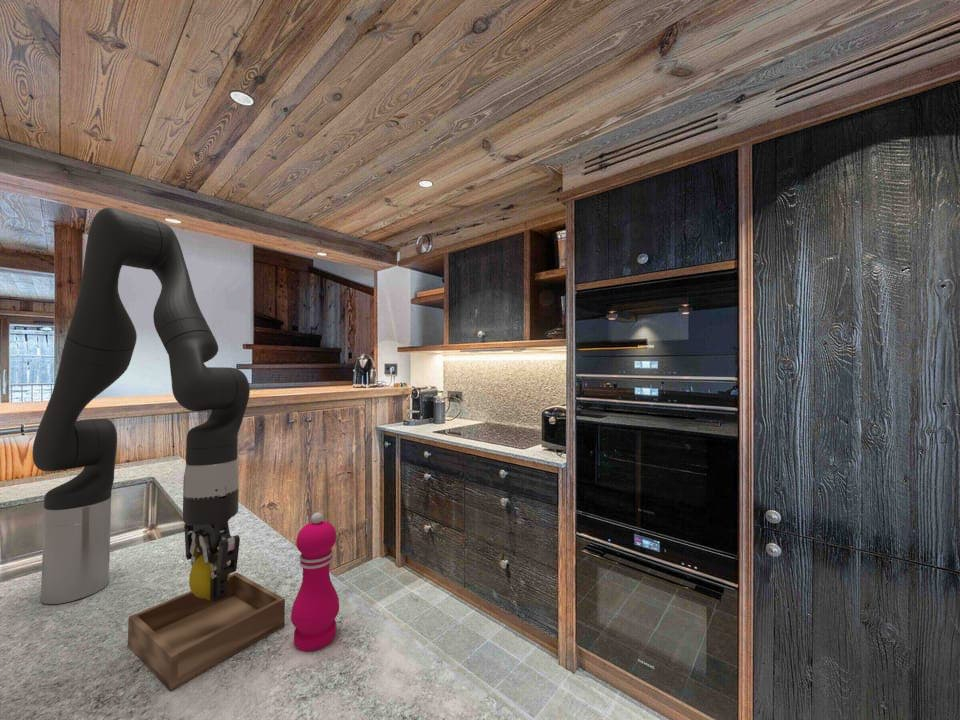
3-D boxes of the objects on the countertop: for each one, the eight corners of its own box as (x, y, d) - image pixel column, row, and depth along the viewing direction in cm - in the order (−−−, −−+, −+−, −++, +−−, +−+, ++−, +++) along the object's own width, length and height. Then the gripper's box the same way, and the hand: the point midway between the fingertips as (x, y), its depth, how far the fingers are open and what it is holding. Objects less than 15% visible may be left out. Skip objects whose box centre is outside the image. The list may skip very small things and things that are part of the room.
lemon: (209, 611, 60) (210, 559, 61) (179, 607, 61) (180, 556, 62) (238, 592, 66) (238, 544, 66) (210, 588, 67) (211, 541, 67)
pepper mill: (291, 660, 58) (293, 524, 59) (289, 631, 65) (291, 509, 65) (342, 644, 61) (343, 516, 62) (335, 618, 68) (337, 502, 68)
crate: (127, 645, 61) (128, 616, 61) (236, 596, 75) (236, 572, 75) (170, 691, 52) (171, 657, 53) (284, 625, 66) (284, 598, 66)
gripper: (166, 487, 65) (163, 590, 64) (206, 503, 57) (204, 620, 57) (216, 477, 71) (214, 571, 71) (258, 489, 63) (256, 595, 63)
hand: (209, 592), depth 64 cm, fingers closed on lemon, 5 cm apart
